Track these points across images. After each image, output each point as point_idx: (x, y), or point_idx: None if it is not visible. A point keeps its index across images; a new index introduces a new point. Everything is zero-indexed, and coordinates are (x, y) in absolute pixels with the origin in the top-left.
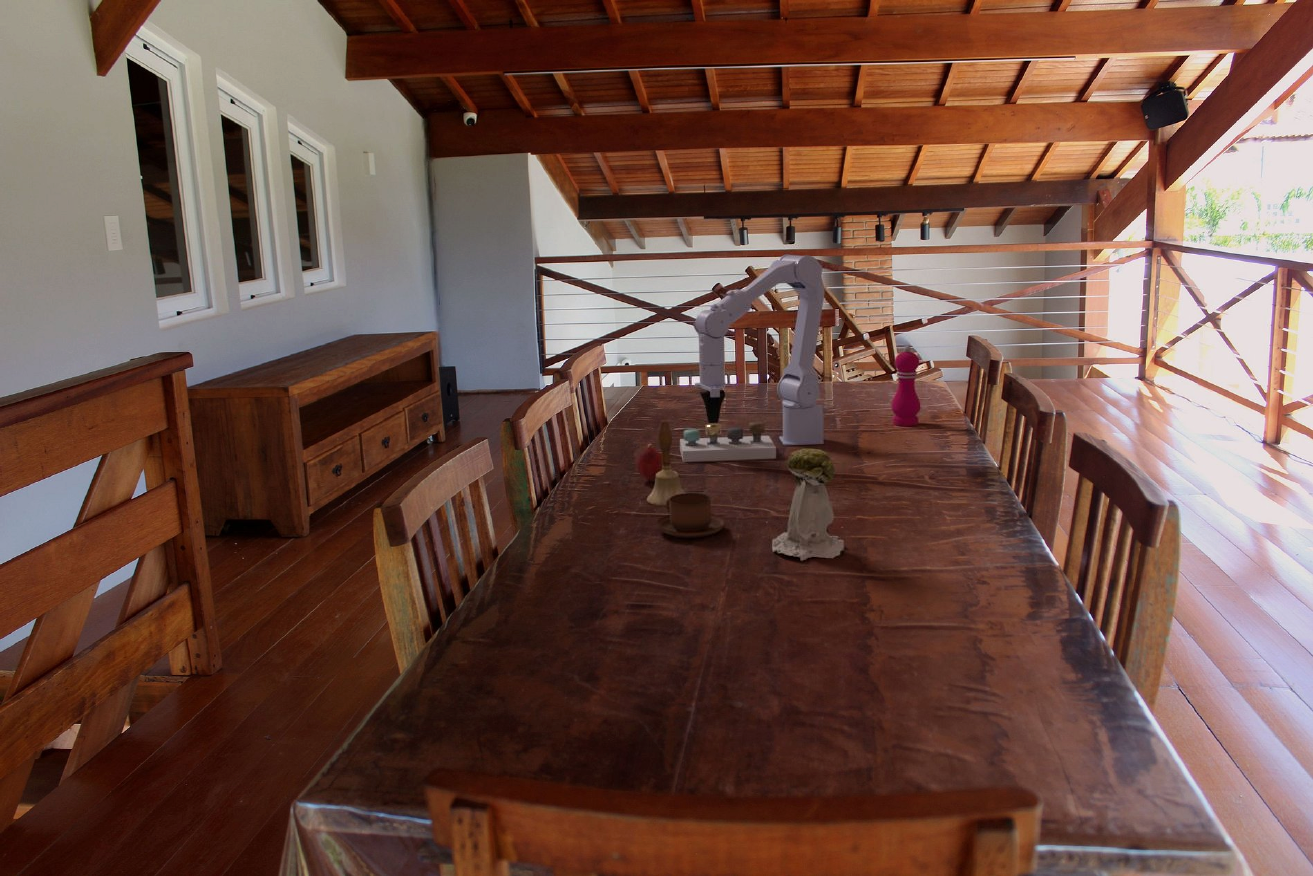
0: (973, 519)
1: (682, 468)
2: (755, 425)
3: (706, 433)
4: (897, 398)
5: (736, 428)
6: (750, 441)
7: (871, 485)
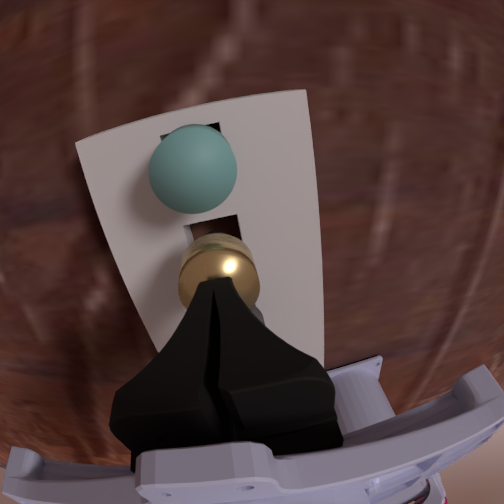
0: None
1: (22, 158)
2: None
3: (194, 242)
4: None
5: None
6: None
7: (67, 449)
